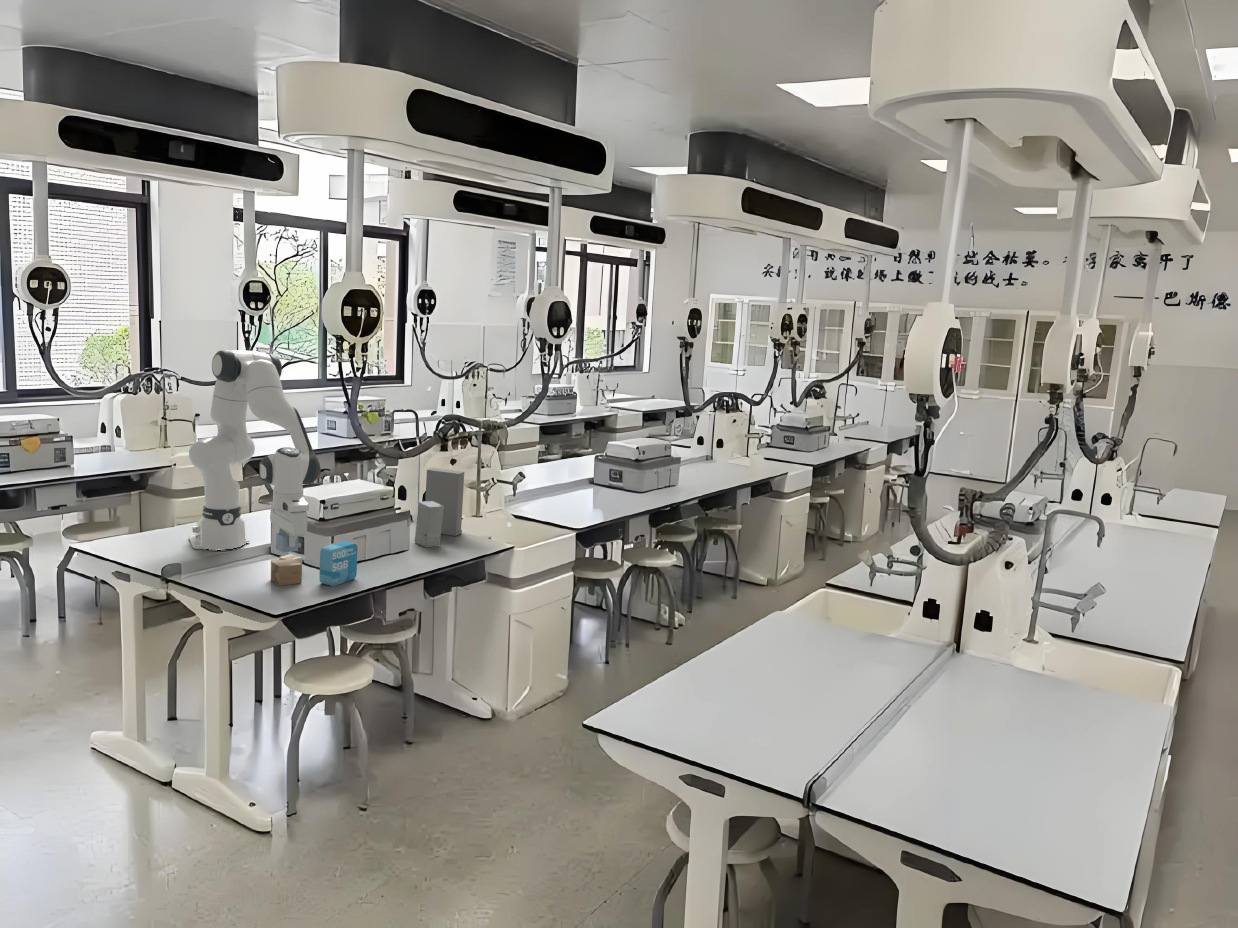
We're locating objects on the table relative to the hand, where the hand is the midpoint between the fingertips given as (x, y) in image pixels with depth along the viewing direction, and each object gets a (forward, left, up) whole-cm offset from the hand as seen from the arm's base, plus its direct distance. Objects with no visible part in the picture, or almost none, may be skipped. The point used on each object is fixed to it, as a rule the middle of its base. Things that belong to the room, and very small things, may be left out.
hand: (287, 543), depth 286 cm
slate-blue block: (0, 0, -2) cm, 2 cm away
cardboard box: (0, 0, -12) cm, 12 cm away
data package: (+7, +14, -12) cm, 20 cm away
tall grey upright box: (-33, +76, -12) cm, 84 cm away
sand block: (-9, +5, -12) cm, 16 cm away
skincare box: (-20, +62, -12) cm, 66 cm away
